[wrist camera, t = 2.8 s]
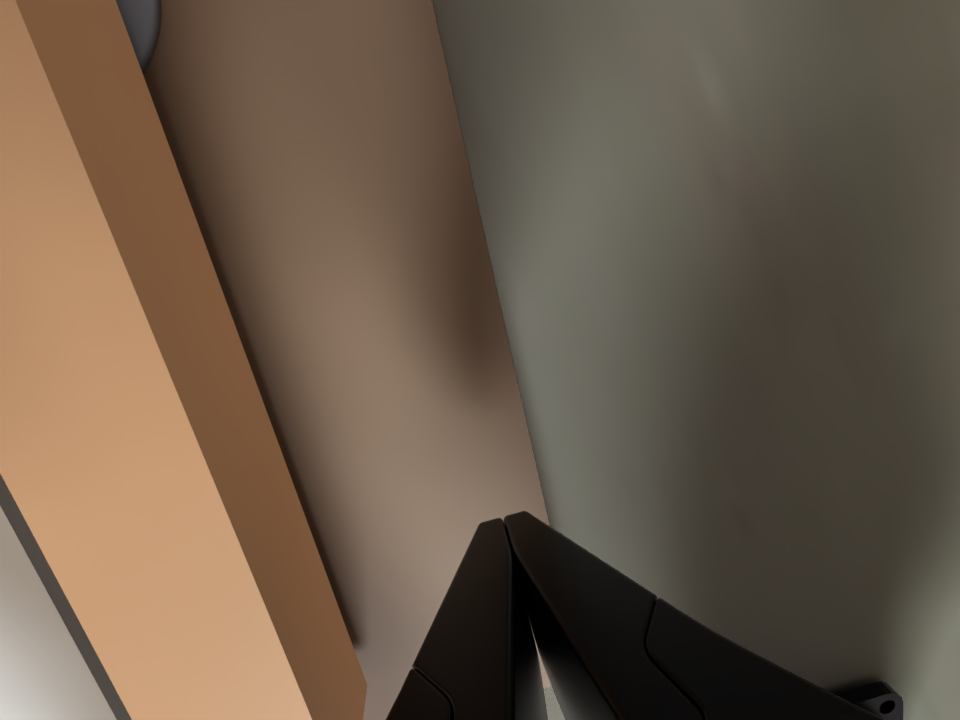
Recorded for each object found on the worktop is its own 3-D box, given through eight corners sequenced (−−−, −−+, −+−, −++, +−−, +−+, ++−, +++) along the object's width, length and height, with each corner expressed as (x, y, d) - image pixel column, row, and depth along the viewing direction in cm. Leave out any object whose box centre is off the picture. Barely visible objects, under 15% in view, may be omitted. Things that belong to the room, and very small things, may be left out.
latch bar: (-130, -135, 7) (-619, -465, 4) (52, -170, 7) (-263, -519, 4) (254, 717, 11) (181, 920, 8) (367, 685, 11) (343, 870, 8)
